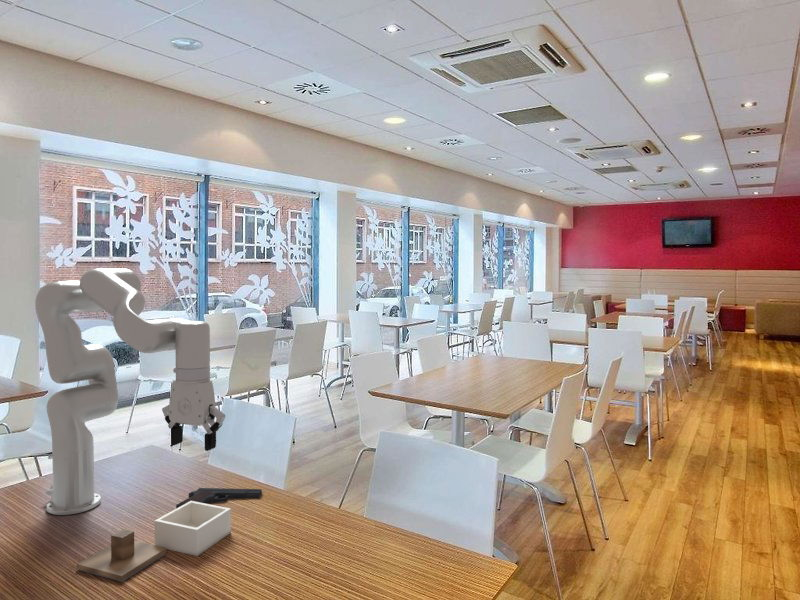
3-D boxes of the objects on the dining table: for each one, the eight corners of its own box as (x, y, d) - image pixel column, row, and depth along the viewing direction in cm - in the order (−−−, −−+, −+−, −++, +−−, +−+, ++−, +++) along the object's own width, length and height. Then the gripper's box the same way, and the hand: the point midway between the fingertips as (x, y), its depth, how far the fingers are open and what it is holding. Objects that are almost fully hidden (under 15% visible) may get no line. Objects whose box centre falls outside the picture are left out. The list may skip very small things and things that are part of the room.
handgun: (253, 507, 149) (262, 488, 161) (175, 505, 148) (190, 486, 160) (253, 515, 149) (262, 495, 161) (175, 514, 148) (190, 494, 160)
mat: (78, 570, 119) (78, 568, 119) (124, 544, 130) (124, 542, 130) (122, 582, 115) (122, 580, 115) (165, 554, 126) (165, 552, 126)
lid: (76, 568, 119) (76, 540, 119) (124, 542, 131) (123, 516, 130) (121, 580, 115) (121, 552, 114) (166, 552, 126) (166, 526, 126)
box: (154, 546, 130) (154, 520, 130) (191, 524, 141) (190, 500, 141) (197, 556, 126) (196, 529, 125) (230, 532, 137) (230, 508, 137)
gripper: (151, 374, 131) (152, 446, 132) (212, 380, 125) (213, 456, 126) (174, 368, 138) (175, 437, 139) (234, 374, 132) (234, 446, 133)
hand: (193, 446), depth 132 cm, fingers open, 9 cm apart
